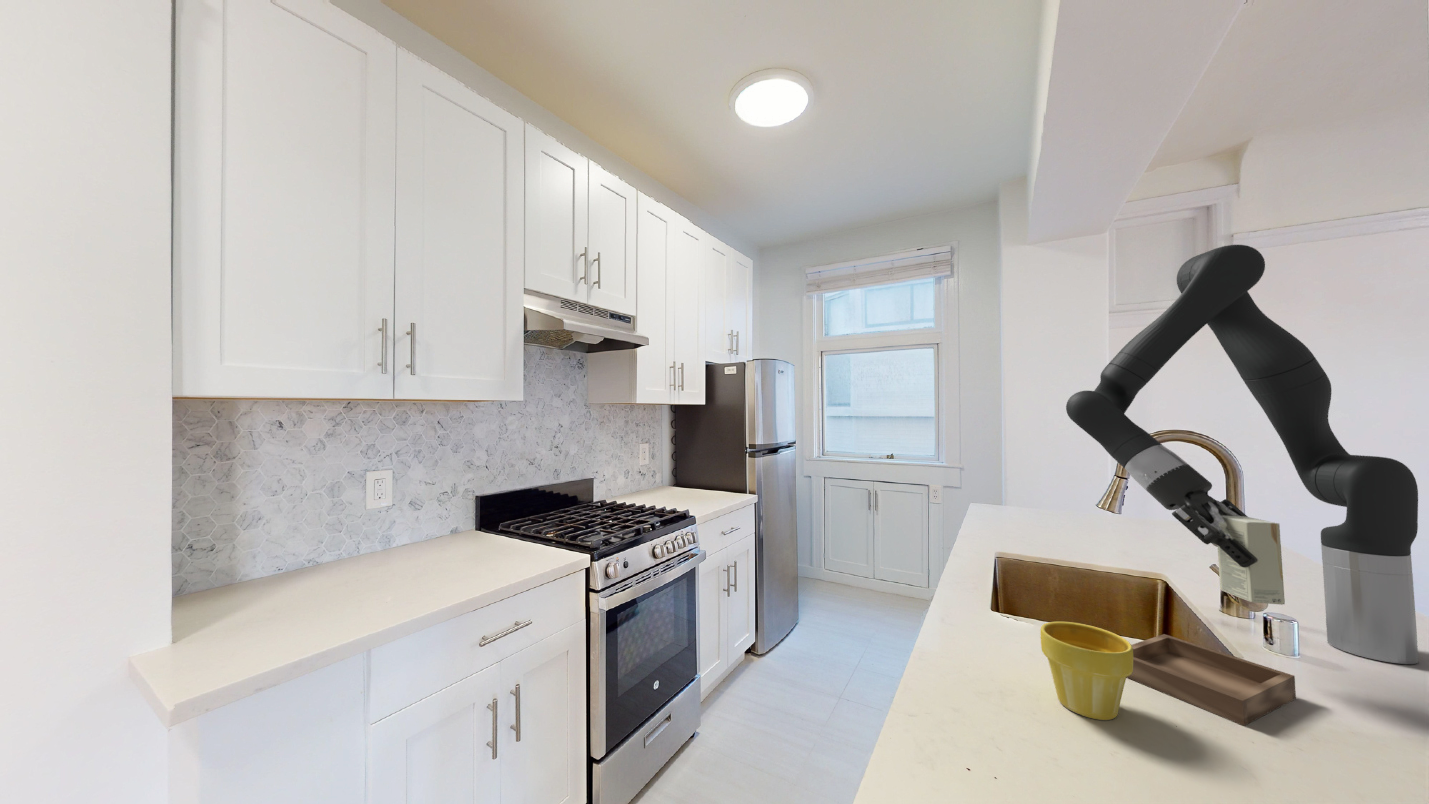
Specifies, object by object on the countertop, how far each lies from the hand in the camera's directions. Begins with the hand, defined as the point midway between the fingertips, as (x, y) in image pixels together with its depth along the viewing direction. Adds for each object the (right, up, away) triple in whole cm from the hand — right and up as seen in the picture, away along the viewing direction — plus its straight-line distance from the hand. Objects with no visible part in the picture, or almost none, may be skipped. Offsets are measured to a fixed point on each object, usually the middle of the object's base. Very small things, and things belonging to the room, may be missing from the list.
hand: (1263, 561), depth 74 cm
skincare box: (-1, -6, +1) cm, 6 cm away
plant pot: (-32, -18, -6) cm, 37 cm away
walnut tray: (-11, -18, -1) cm, 21 cm away
